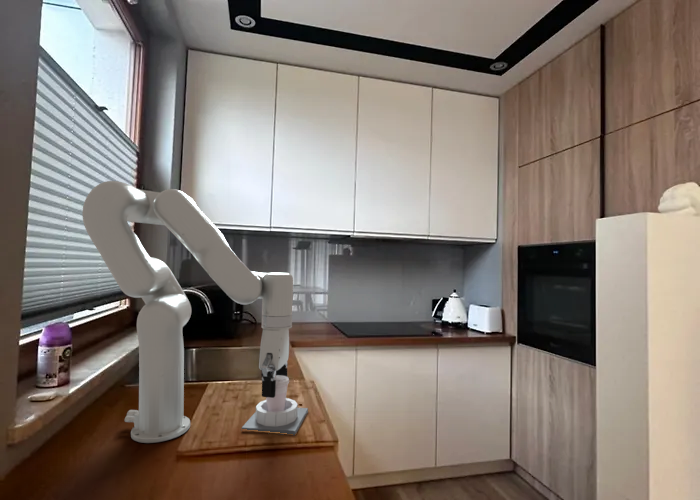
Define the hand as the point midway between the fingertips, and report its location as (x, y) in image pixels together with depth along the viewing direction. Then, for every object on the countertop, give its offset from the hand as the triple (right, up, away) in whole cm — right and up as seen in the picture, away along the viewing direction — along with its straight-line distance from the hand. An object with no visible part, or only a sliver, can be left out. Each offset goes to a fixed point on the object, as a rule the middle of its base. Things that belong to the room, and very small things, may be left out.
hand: (274, 389), depth 96 cm
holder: (0, -8, 0) cm, 8 cm away
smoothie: (0, -7, 0) cm, 7 cm away
